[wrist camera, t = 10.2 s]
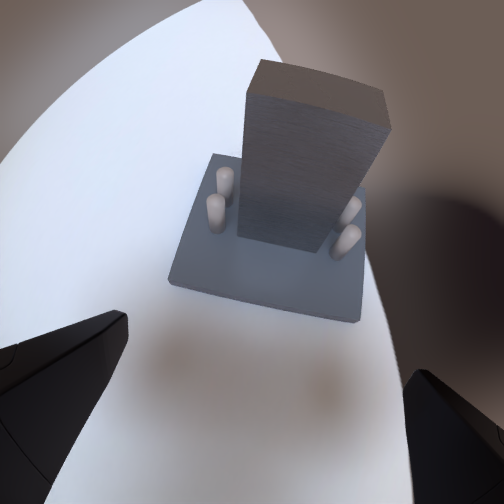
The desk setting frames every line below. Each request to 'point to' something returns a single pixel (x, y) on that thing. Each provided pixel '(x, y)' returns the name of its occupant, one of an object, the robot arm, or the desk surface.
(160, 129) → the desk surface
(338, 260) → the grey pegged stand
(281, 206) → the block
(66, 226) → the desk surface
